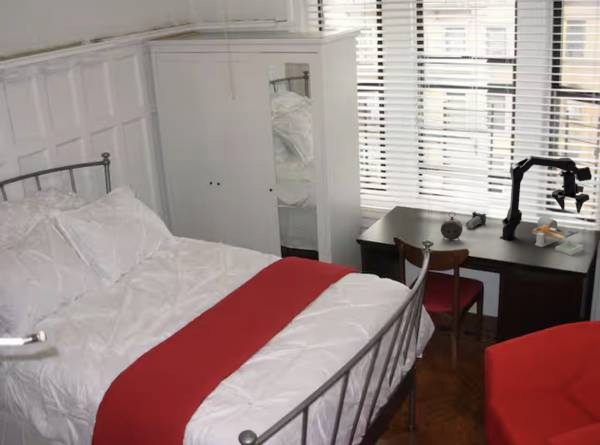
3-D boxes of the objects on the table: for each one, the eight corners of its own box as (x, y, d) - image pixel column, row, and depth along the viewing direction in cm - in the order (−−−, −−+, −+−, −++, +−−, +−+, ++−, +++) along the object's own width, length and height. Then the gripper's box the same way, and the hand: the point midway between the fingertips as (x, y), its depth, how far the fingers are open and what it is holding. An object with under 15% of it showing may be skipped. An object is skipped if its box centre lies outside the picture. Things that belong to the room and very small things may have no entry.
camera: (474, 224, 393) (463, 231, 385) (472, 211, 391) (461, 218, 383) (488, 224, 387) (478, 232, 378) (486, 211, 385) (476, 218, 377)
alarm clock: (462, 239, 368) (463, 210, 363) (461, 243, 364) (462, 214, 358) (441, 238, 372) (442, 209, 366) (439, 241, 367) (440, 212, 362)
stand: (541, 247, 353) (542, 235, 351) (535, 245, 357) (535, 233, 354) (556, 241, 360) (557, 229, 358) (549, 239, 363) (550, 227, 361)
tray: (571, 255, 342) (571, 250, 341) (555, 250, 349) (555, 244, 348) (583, 250, 347) (583, 244, 346) (567, 245, 354) (567, 239, 353)
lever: (557, 246, 349) (557, 237, 347) (531, 238, 360) (532, 229, 359) (577, 237, 358) (578, 228, 357) (552, 230, 370) (553, 221, 368)
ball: (545, 234, 355) (546, 227, 353) (539, 232, 358) (539, 225, 356) (550, 232, 357) (551, 225, 355) (543, 230, 360) (544, 223, 358)
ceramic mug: (549, 234, 369) (550, 221, 366) (536, 230, 375) (537, 217, 372) (561, 230, 374) (562, 216, 372) (548, 226, 381) (549, 213, 378)
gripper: (595, 180, 350) (596, 209, 356) (564, 175, 366) (565, 203, 371) (581, 187, 345) (582, 216, 350) (550, 182, 361) (551, 210, 366)
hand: (571, 211), depth 360 cm, fingers open, 9 cm apart
